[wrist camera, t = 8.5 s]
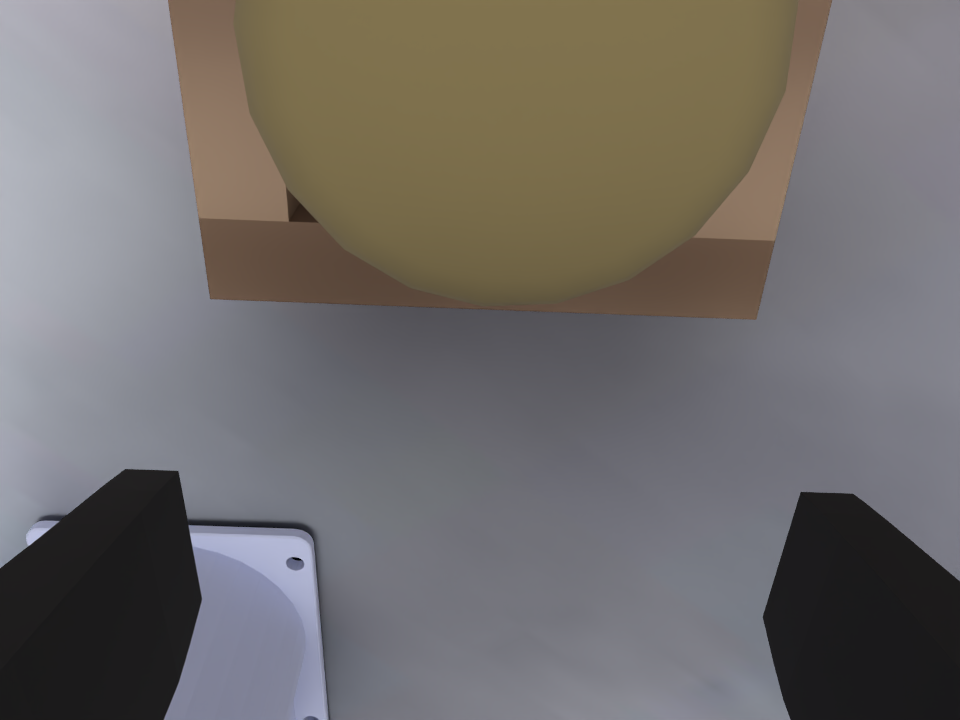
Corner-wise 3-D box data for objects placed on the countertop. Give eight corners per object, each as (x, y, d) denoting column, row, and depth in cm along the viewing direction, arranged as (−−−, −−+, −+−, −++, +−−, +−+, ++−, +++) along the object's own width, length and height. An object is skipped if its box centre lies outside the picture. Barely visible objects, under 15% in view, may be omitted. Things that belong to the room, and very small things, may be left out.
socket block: (718, 261, 19) (756, 319, 16) (247, 242, 19) (210, 299, 16) (843, -352, 13) (929, -410, 11) (178, -387, 13) (104, -454, 11)
